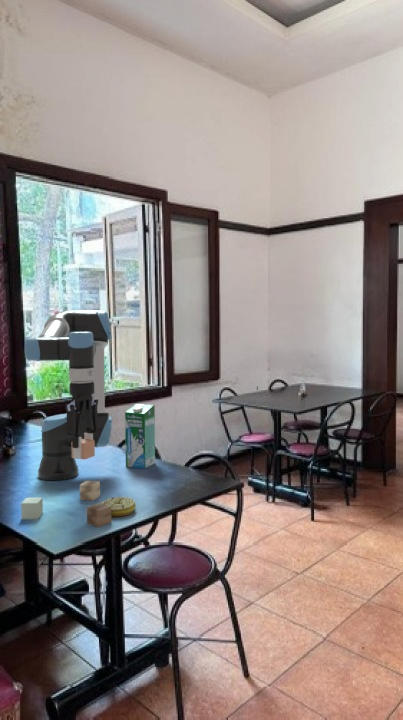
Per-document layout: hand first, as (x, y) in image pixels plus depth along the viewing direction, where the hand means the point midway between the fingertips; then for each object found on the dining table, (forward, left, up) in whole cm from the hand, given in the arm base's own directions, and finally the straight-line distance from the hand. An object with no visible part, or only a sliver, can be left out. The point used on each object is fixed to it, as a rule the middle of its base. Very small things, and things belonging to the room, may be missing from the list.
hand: (83, 455), depth 160 cm
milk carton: (-11, +52, -18) cm, 56 cm away
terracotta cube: (0, 0, 0) cm, 0 cm away
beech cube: (-6, +11, -18) cm, 22 cm away
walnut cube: (+10, -6, -18) cm, 21 cm away
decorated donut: (+10, +4, -18) cm, 21 cm away
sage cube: (-12, -10, -18) cm, 24 cm away
